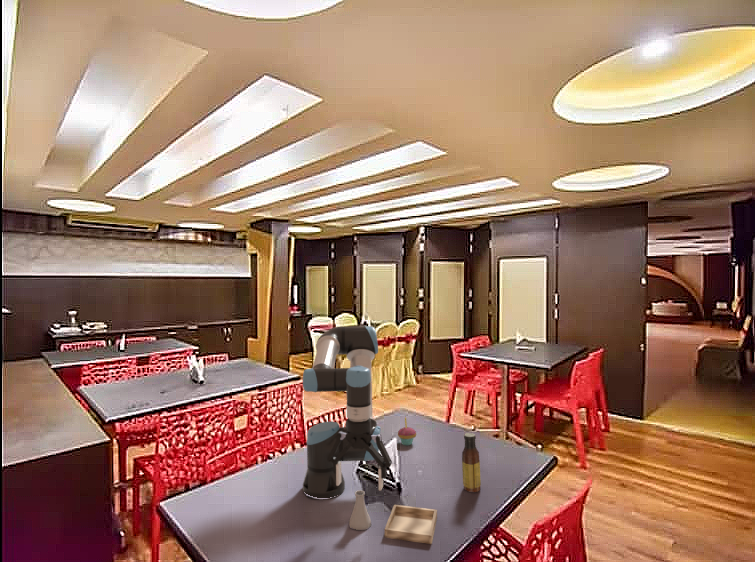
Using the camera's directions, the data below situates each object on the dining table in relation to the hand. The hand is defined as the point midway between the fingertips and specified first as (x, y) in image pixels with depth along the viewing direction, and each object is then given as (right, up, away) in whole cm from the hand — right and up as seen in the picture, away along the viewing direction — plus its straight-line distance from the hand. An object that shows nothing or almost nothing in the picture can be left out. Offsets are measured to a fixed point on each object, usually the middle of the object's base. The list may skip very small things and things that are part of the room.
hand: (359, 486), depth 136 cm
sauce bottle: (+39, -11, +22) cm, 46 cm away
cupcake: (+19, -11, +64) cm, 68 cm away
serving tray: (+16, -12, -1) cm, 20 cm away
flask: (0, -13, +1) cm, 13 cm away
